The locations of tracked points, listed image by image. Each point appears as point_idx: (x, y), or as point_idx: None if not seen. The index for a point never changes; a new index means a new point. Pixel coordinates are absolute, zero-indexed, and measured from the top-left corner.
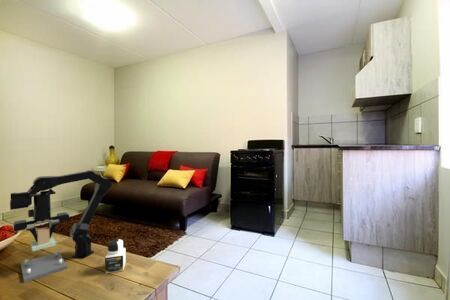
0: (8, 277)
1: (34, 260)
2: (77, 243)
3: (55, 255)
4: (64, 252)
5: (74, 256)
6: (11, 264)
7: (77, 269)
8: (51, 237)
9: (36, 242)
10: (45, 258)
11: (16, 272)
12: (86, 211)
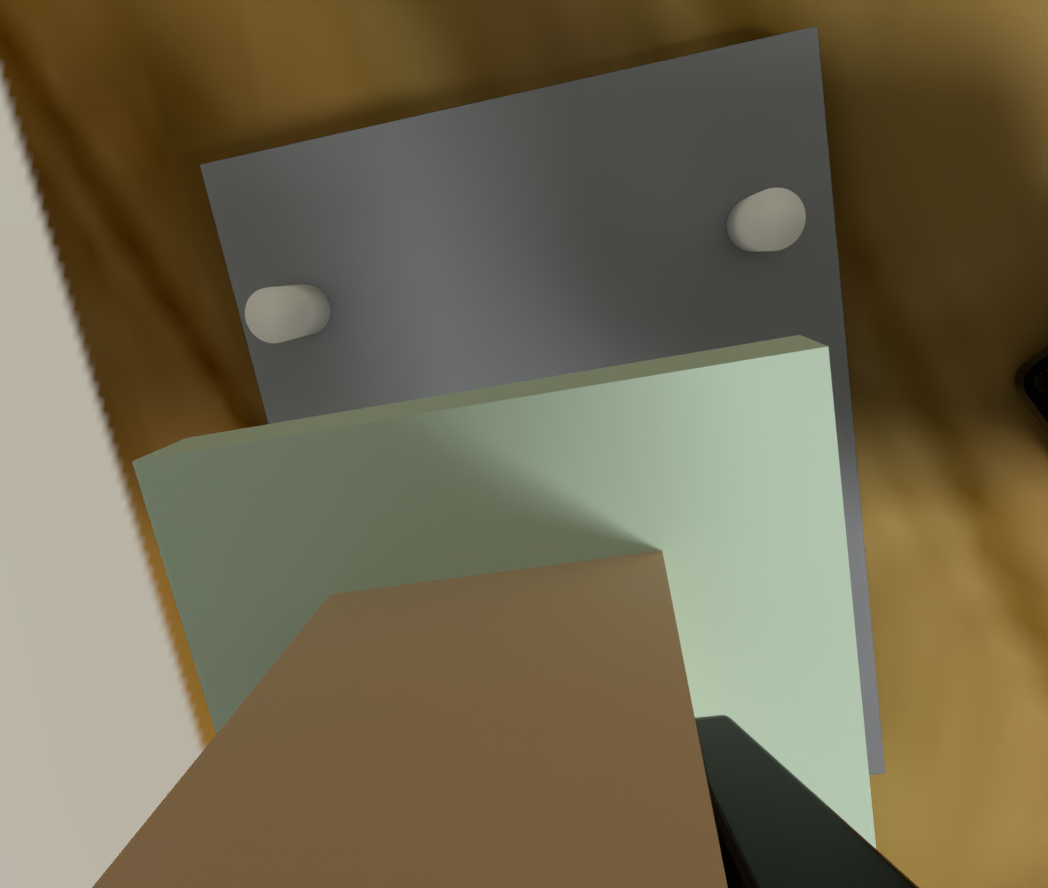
0: None
1: (404, 216)
2: None
3: (744, 250)
4: (905, 7)
5: (1046, 422)
6: (72, 25)
7: (991, 866)
8: (771, 355)
9: (319, 578)
10: (575, 248)
11: (230, 423)
12: None
